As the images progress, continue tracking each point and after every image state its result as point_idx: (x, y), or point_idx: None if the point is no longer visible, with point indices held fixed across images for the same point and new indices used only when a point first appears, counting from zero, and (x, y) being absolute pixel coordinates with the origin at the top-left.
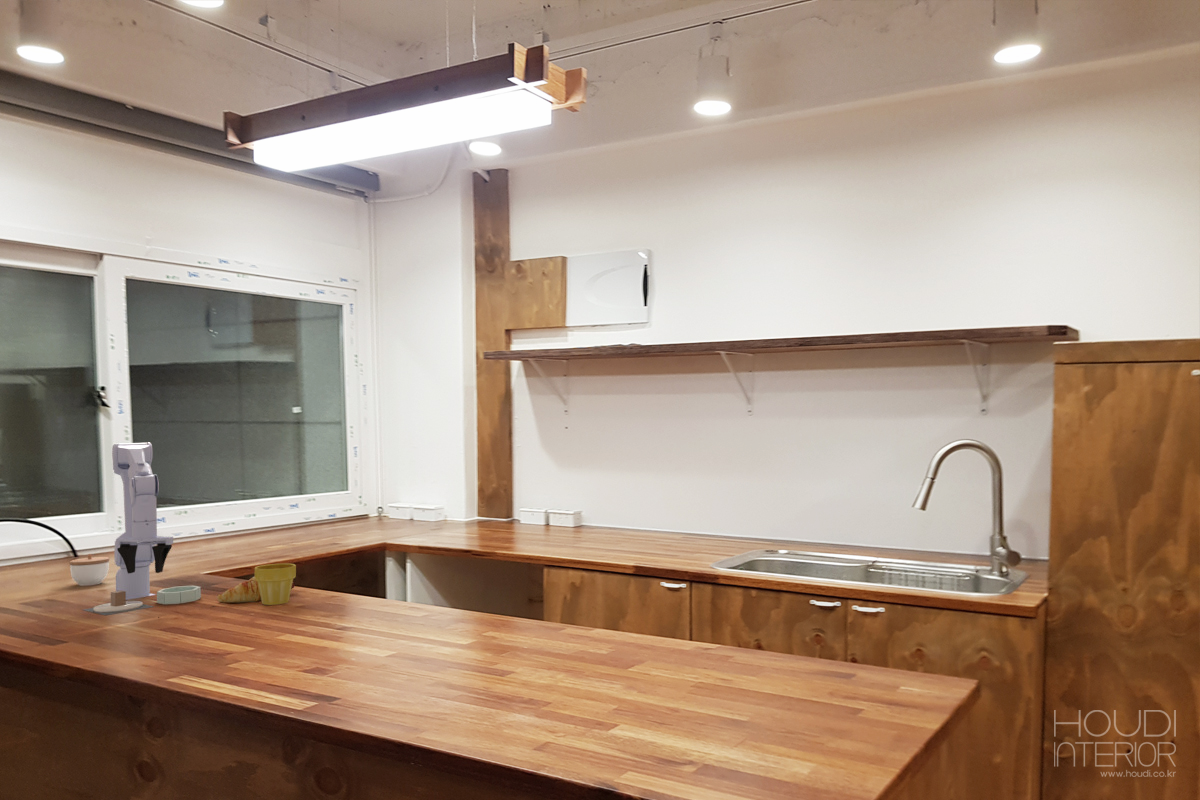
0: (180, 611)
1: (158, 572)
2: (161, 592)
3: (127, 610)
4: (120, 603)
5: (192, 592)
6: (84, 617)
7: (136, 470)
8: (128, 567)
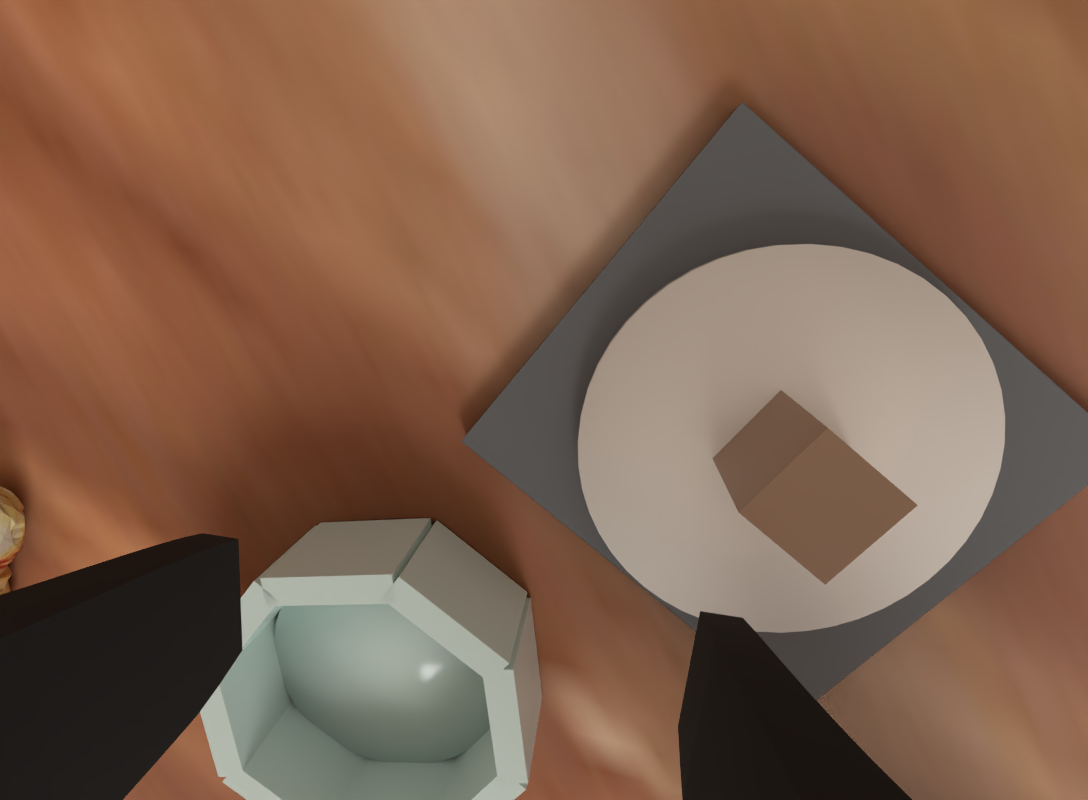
0: (182, 276)
1: (191, 539)
2: (441, 615)
3: (626, 309)
4: (750, 429)
5: None
6: (978, 171)
7: None
8: (741, 670)
